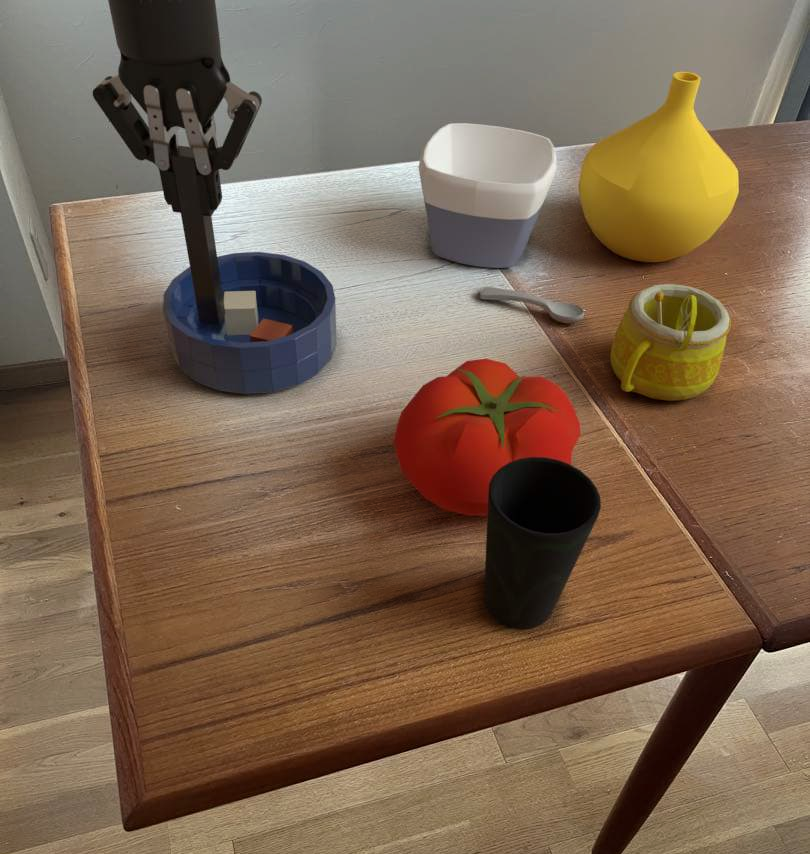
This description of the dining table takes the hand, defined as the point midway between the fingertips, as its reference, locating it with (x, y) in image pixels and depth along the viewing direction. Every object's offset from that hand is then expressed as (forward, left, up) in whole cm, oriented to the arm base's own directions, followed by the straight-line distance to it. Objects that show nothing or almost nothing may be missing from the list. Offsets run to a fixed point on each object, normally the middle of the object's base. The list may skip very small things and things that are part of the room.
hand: (195, 209), depth 71 cm
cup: (+32, -25, -16) cm, 44 cm away
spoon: (+31, +16, -16) cm, 38 cm away
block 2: (+5, +1, -16) cm, 17 cm away
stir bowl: (+3, +3, -16) cm, 17 cm away
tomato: (+28, -12, -16) cm, 34 cm away
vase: (+44, +34, -16) cm, 58 cm away
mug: (+44, +6, -16) cm, 47 cm away
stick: (0, 0, -11) cm, 11 cm away
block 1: (+1, +6, -16) cm, 17 cm away
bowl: (+24, +29, -16) cm, 41 cm away
